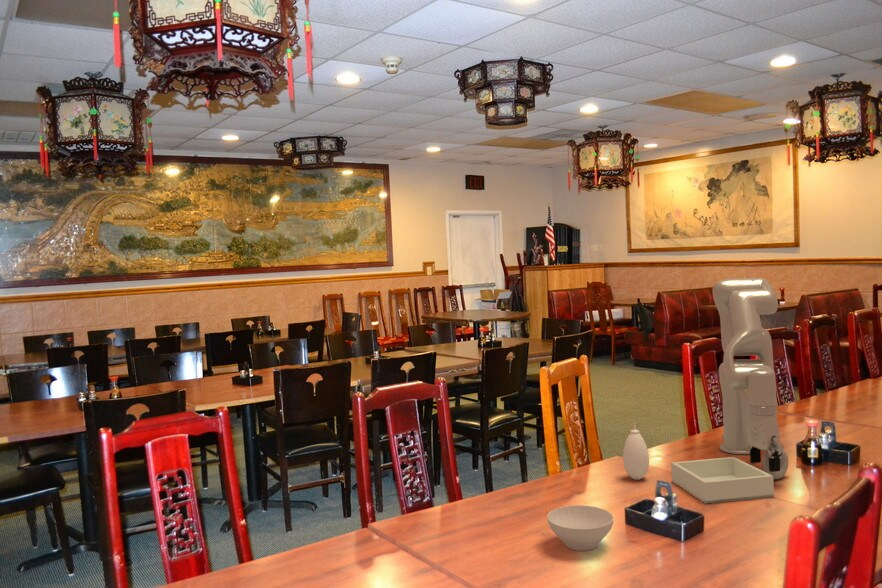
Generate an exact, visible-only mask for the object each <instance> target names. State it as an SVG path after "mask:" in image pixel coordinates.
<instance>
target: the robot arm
mask: <svg viewBox="0 0 882 588" xmlns="http://www.w3.org/2000/svg"><path fill="white" fill-rule="evenodd" d="M712 297H713V301H714V304H715V306H716V309H717V311H718V315H719V319H720V320H719V322H720V335H721V347H722V351H723V362H722V363H720V365H719V367H718V375H719V380H720V385H721V392H722V414H723V415H722V417H723V418H722V419H723V434H722V435H721V439H723V443H721V444H720V445H719V449H720V451H722V452H725V453H729V454H733V455H749V460H750V461H749V462H750V463H751V464H758V463H761V462H762V456H761V454H762V453H761V451H764V452H766V451H768V453H769V456H770V458H769V471H770V472H776V471H780V458H781V455H782V451H783V449H784V444H782V442H780V432H779V422H778V418H777V416H778V411H777V410H778V408H777V380H776V377H777V376H776V373H775V367H774V354H773V341H772V336H771V333H770V332H769V331H768V330H767V328H763V326H762V320H761V316H762V315H765V316H766V315H774V314H775V313H776V312H777V311H778V308H779V301H778V297H777V294H776V291H775V290H774V288H773V287H772V285H771V284H770V282H768V280H767V279H765V278H763V277H746V278H745V277H740V278H738V277H737V278H725V279H724V278H723V279H720V280H717V281H715V282H714V283H713V286H712ZM734 356H737V357H741V356H756V357H757V359H751V358H750V359H745V358H744V359H734ZM746 390H747V391H748V392H746ZM772 451H775V452H774V453H772Z"/></svg>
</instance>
